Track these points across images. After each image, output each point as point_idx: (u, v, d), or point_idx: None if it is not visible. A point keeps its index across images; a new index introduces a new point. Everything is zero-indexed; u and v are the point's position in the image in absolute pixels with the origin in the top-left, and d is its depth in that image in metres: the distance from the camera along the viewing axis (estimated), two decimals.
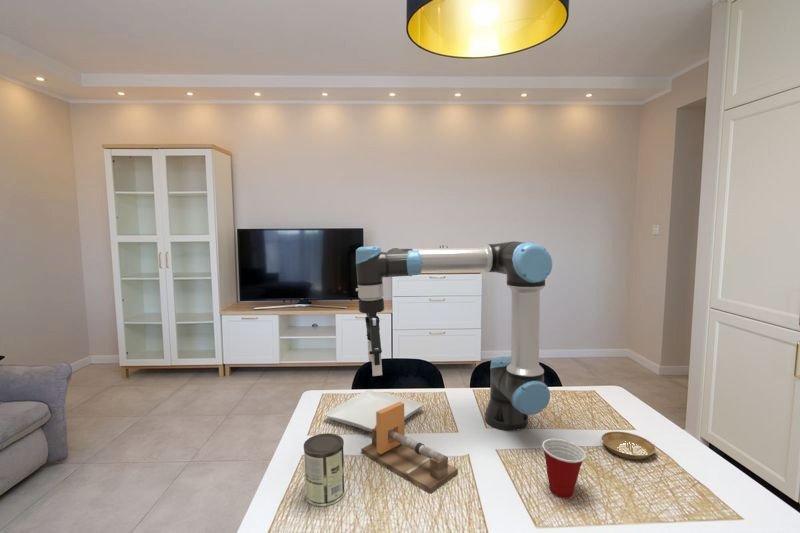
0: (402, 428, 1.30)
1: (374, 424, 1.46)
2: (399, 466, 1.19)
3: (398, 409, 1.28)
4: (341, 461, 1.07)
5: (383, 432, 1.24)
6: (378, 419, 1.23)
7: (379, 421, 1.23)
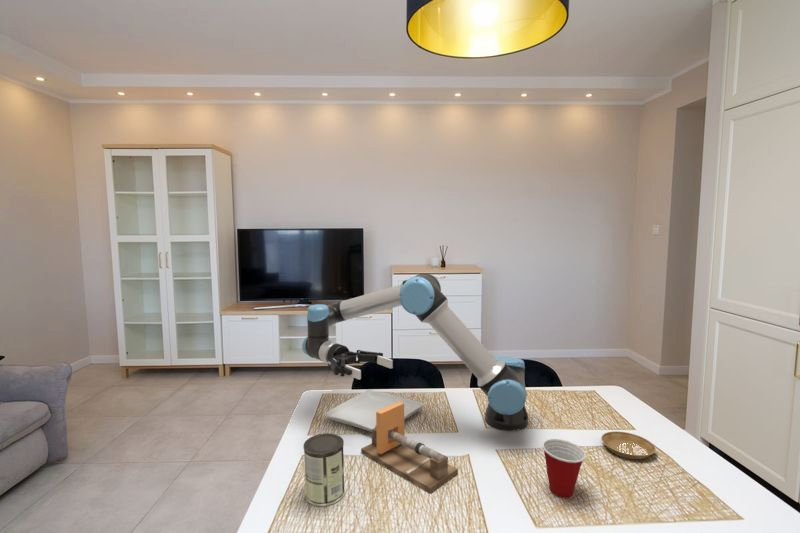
0: (402, 428, 1.30)
1: (374, 424, 1.46)
2: (399, 466, 1.19)
3: (398, 409, 1.28)
4: (341, 461, 1.07)
5: (383, 432, 1.24)
6: (378, 419, 1.23)
7: (379, 421, 1.23)
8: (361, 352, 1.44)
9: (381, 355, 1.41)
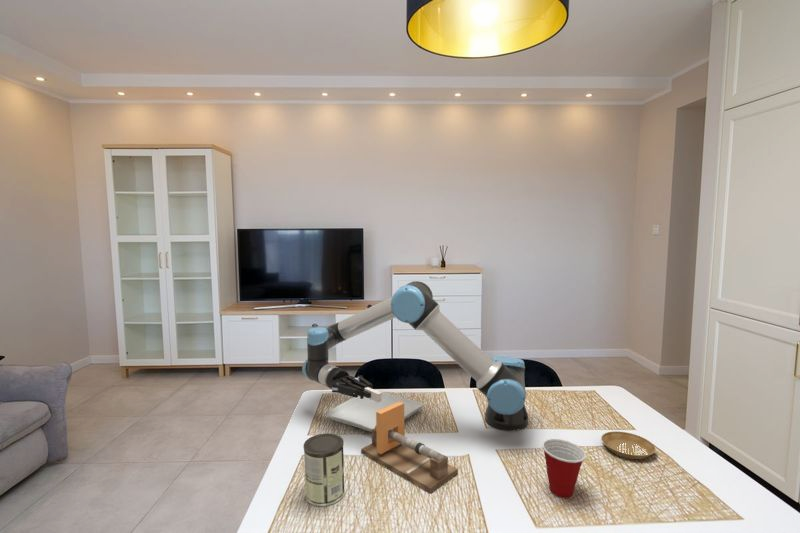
0: (402, 428, 1.30)
1: (374, 424, 1.46)
2: (399, 466, 1.19)
3: (398, 409, 1.28)
4: (341, 461, 1.07)
5: (383, 432, 1.24)
6: (378, 419, 1.23)
7: (379, 421, 1.23)
8: (359, 378, 1.43)
9: (370, 386, 1.37)
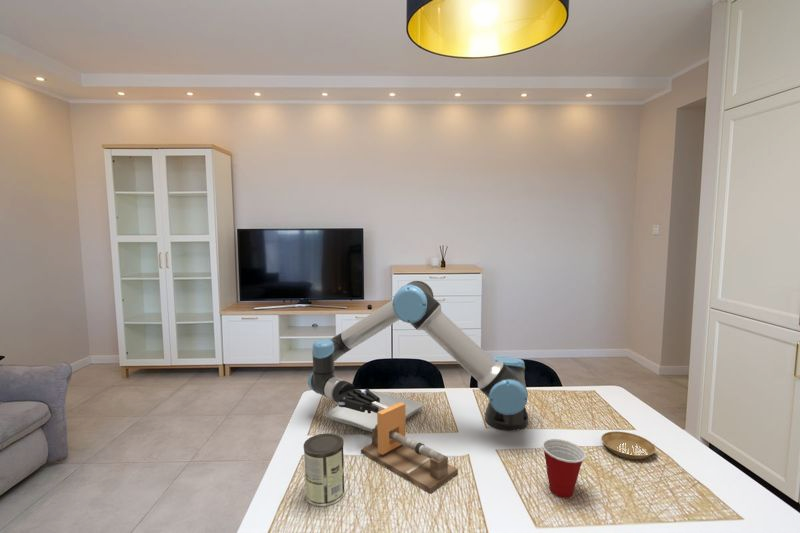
0: (403, 429, 1.29)
1: (374, 424, 1.46)
2: (399, 466, 1.19)
3: (399, 410, 1.27)
4: (341, 461, 1.07)
5: (384, 433, 1.23)
6: (379, 420, 1.23)
7: (380, 422, 1.23)
8: (366, 391, 1.40)
9: (378, 400, 1.34)
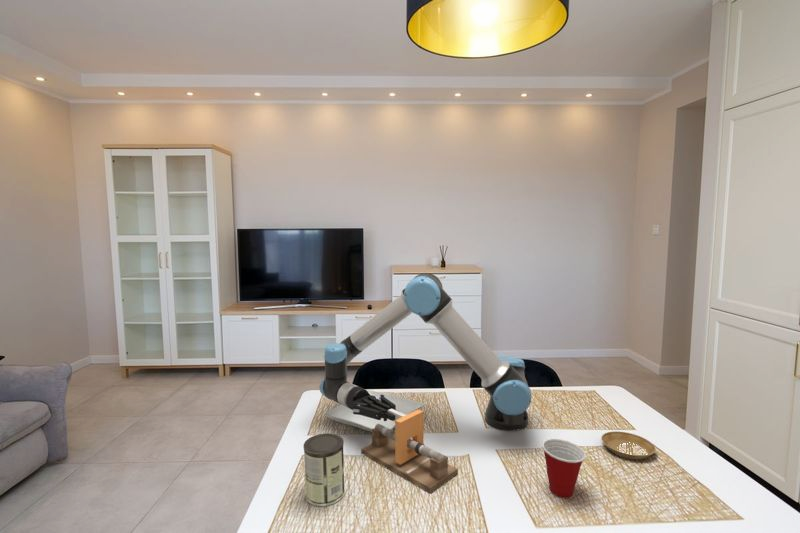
0: (421, 437, 1.24)
1: (374, 424, 1.46)
2: (399, 466, 1.19)
3: (417, 417, 1.22)
4: (341, 461, 1.07)
5: (402, 442, 1.18)
6: (397, 428, 1.18)
7: (398, 431, 1.17)
8: (381, 398, 1.35)
9: (394, 407, 1.29)
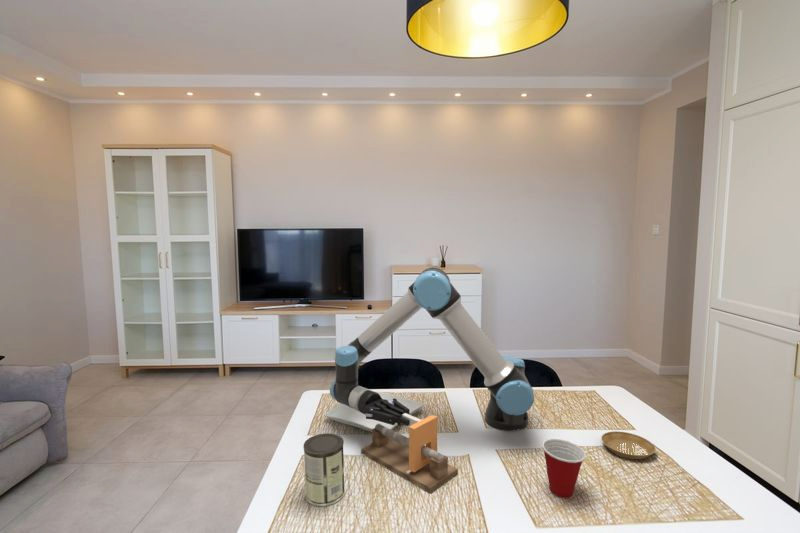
0: (435, 443, 1.20)
1: (374, 424, 1.46)
2: (399, 466, 1.19)
3: (431, 423, 1.19)
4: (341, 461, 1.07)
5: (416, 449, 1.14)
6: (411, 435, 1.14)
7: (412, 437, 1.14)
8: (394, 402, 1.32)
9: (407, 412, 1.25)
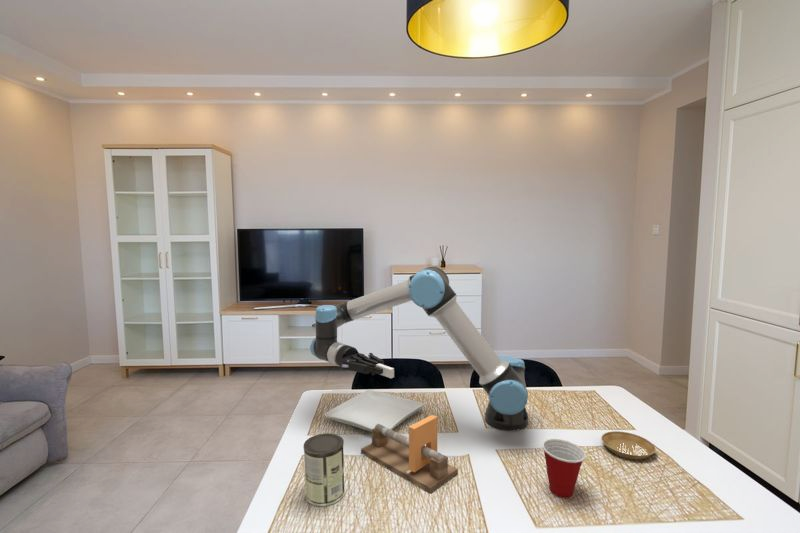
0: (435, 443, 1.20)
1: (374, 424, 1.46)
2: (399, 466, 1.19)
3: (431, 423, 1.19)
4: (341, 461, 1.07)
5: (416, 449, 1.14)
6: (411, 435, 1.14)
7: (412, 437, 1.14)
8: (370, 355, 1.39)
9: (382, 363, 1.32)
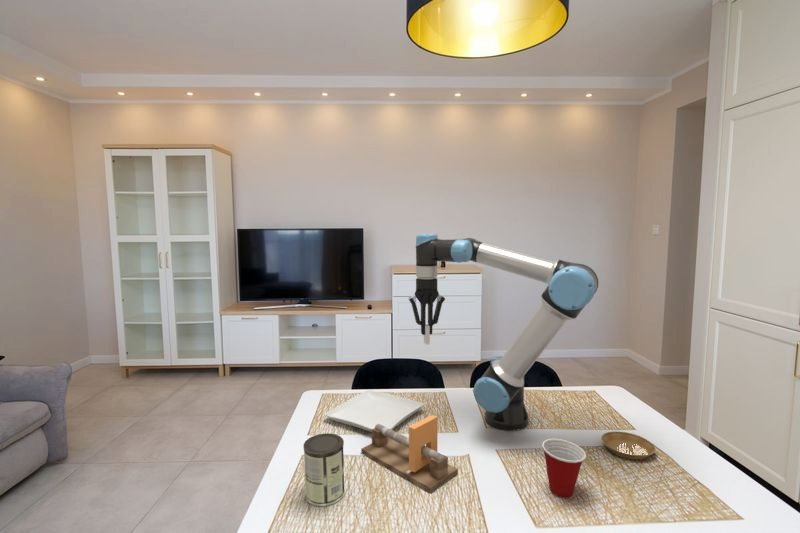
0: (435, 443, 1.20)
1: (374, 424, 1.46)
2: (399, 466, 1.19)
3: (431, 423, 1.19)
4: (341, 461, 1.07)
5: (416, 449, 1.14)
6: (411, 435, 1.14)
7: (412, 437, 1.14)
8: (439, 302, 1.46)
9: (434, 323, 1.47)
